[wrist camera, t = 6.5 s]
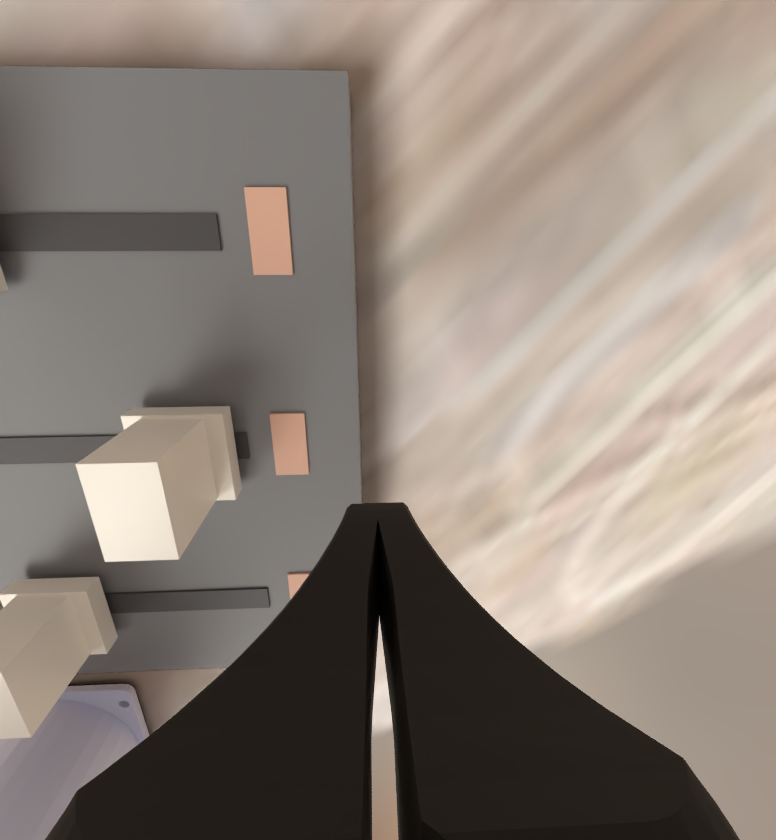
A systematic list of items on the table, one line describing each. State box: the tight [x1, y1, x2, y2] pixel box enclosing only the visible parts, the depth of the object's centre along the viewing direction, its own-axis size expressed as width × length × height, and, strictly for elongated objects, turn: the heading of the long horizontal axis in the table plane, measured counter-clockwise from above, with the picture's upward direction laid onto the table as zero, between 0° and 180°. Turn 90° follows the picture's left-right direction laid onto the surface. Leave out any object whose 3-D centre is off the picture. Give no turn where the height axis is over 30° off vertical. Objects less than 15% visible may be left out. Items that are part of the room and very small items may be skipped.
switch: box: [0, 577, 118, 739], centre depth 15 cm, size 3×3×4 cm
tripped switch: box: [75, 406, 242, 562], centre depth 13 cm, size 3×3×4 cm
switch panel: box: [0, 66, 363, 674], centre depth 16 cm, size 22×18×2 cm
